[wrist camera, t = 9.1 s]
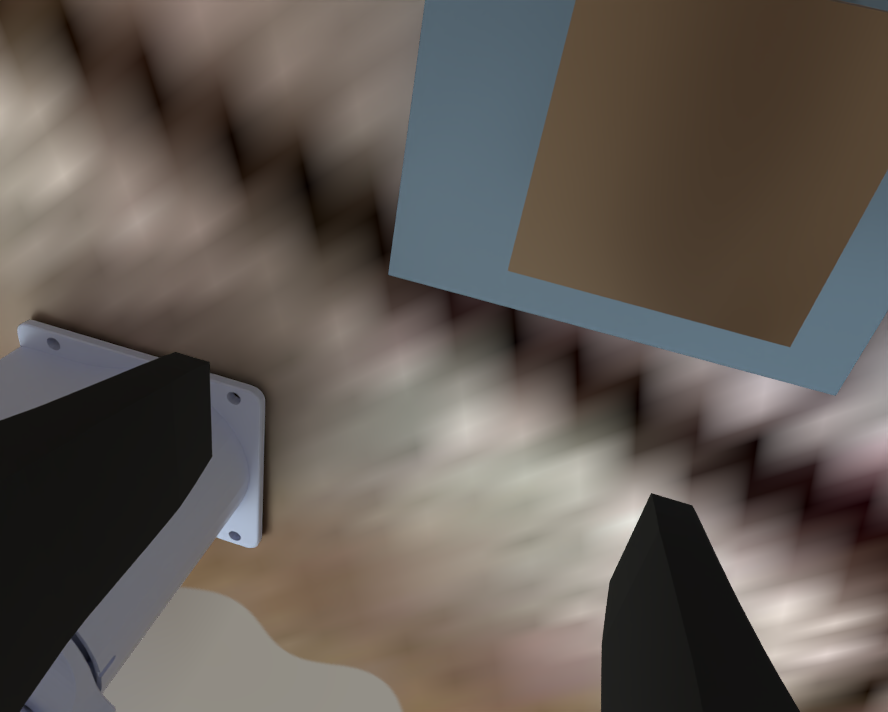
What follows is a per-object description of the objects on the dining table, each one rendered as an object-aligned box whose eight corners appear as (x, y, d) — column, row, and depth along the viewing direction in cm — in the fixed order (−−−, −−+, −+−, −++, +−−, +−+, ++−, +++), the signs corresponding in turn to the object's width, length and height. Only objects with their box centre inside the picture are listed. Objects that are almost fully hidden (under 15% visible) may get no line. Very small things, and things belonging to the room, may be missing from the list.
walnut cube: (541, 189, 16) (507, 270, 12) (604, -50, 13) (588, -51, 9) (749, 242, 16) (790, 347, 11) (859, 4, 13) (964, 28, 9)
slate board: (401, 258, 19) (388, 274, 18) (482, -305, 13) (469, -329, 12) (824, 370, 18) (835, 395, 17) (1159, -199, 11) (1208, -213, 10)
